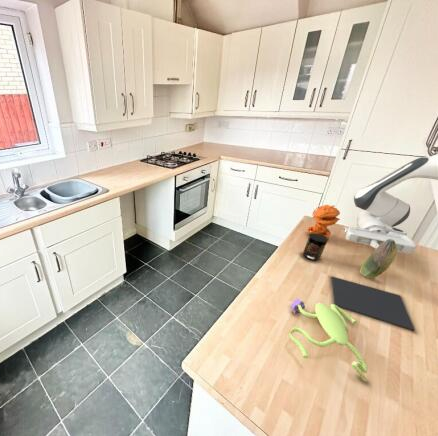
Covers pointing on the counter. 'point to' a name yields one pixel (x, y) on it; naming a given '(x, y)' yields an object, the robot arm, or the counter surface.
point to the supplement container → (314, 247)
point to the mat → (371, 302)
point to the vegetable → (379, 259)
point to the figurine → (329, 330)
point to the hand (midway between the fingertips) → (382, 249)
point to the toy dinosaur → (324, 220)
